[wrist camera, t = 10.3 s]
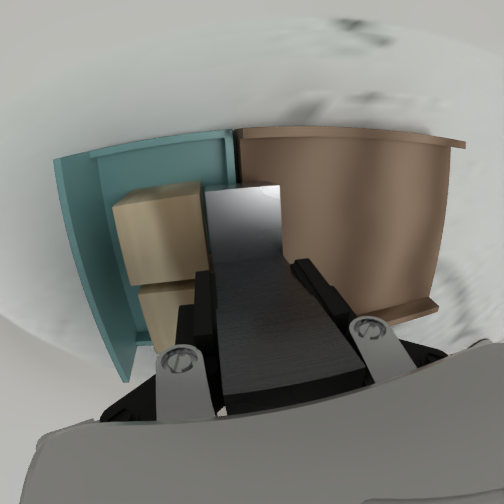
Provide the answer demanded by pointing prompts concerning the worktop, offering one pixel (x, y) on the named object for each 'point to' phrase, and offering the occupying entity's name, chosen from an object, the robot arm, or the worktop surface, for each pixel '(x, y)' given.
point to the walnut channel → (358, 208)
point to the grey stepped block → (269, 310)
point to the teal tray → (104, 228)
